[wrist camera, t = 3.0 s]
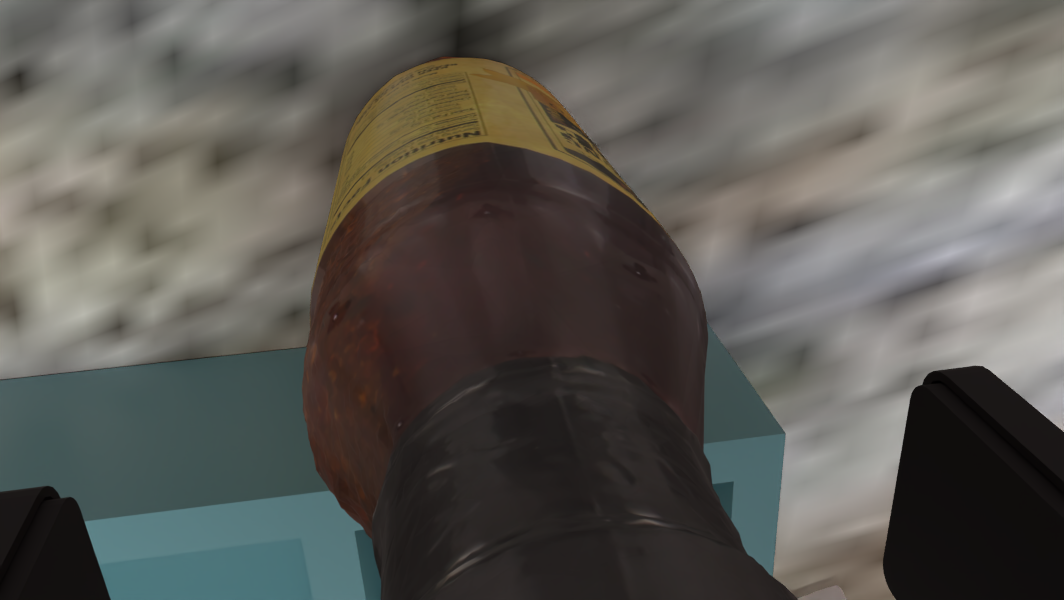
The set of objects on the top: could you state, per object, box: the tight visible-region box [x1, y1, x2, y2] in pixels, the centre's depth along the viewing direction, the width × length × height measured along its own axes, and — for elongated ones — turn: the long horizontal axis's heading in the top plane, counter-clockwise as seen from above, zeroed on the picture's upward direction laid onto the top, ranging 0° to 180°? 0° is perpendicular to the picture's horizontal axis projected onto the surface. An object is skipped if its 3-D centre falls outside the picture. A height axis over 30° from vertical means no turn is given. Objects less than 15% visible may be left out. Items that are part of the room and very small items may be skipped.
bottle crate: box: [0, 323, 785, 600], centre depth 26 cm, size 22×11×7 cm, turn 93°
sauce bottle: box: [302, 57, 798, 600], centre depth 16 cm, size 7×6×20 cm
